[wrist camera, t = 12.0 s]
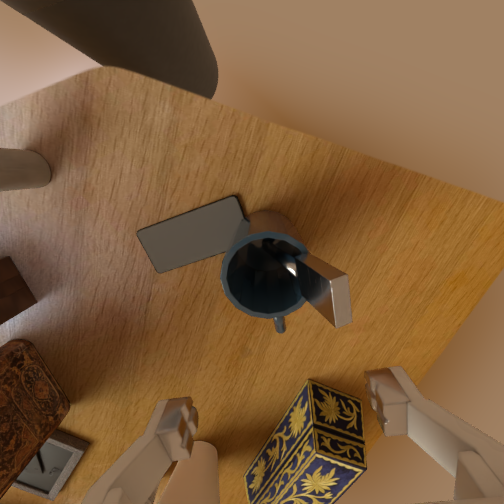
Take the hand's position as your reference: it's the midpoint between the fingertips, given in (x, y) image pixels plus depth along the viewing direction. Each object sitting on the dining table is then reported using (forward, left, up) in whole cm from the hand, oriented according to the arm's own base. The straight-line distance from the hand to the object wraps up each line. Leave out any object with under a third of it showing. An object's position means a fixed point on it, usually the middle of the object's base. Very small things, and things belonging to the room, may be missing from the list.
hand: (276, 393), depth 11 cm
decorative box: (+41, -2, -23) cm, 47 cm away
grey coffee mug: (+2, 0, -23) cm, 23 cm away
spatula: (0, 0, -22) cm, 22 cm away
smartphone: (-3, -9, -24) cm, 26 cm away
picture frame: (+36, -57, -23) cm, 71 cm away
